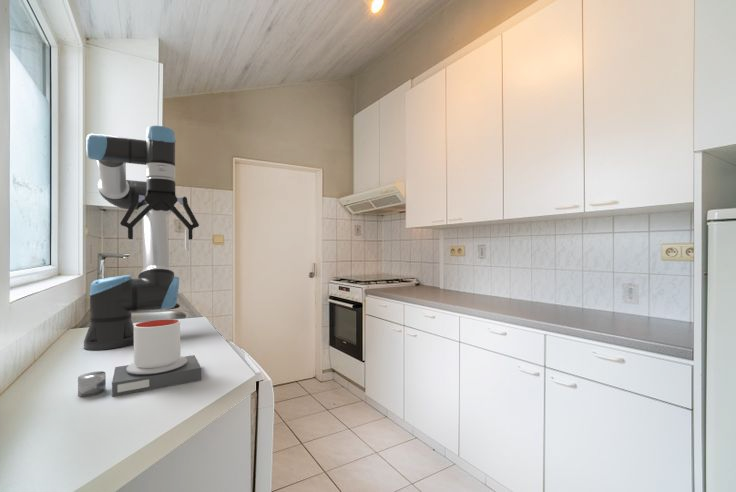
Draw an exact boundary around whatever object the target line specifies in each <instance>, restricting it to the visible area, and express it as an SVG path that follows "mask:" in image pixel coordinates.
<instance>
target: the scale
mask: <svg viewBox="0 0 736 492" xmlns="http://www.w3.org/2000/svg"><path fill="white" fill-rule="evenodd" d="M197 381H202V367H201V365H200V363H199V361H198V359H197V358H196V356H195V355H187V356H182V355H180V358H179V359H178V360H177V361H176V362H175V363H173V364H170V365H167V366H163V367H157V368H140V367H138V366H136V365H135V363H134V362H132V363H130V364H126V365H119V366H115V368H114V372H113V377H112V380H111V397H117V396H123V395H128V394H132V393H139V392H143V391H144V390H145V391H150V390H155V388H156V389H159V388H160V387H161V388H166V387H170V386H171V385H172V386H176V385H181V384H187V383H192V382H197ZM145 391H144V392H145Z"/></svg>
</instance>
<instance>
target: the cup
mask: <svg viewBox="0 0 736 492" xmlns="http://www.w3.org/2000/svg"><path fill="white" fill-rule="evenodd" d="M133 325H134V344H133V363H135V365H136V366H138V367H140V368H157V367H163V366H167V365H170V364H173V363H175V362H176V361H177V360H178V359H179V358H180V356H181V320H179V319H175V318H174V319H171V318H167V319H166V318H165V319H154V320H147V321H142V322H138V323H136V324H133Z"/></svg>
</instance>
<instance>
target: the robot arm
mask: <svg viewBox="0 0 736 492" xmlns="http://www.w3.org/2000/svg"><path fill="white" fill-rule="evenodd" d="M145 139H146V140H143V139H136V138H128V137H122V136H121V137H120V136H114V135H113V136H112V135H108V134H107V135H106V134H96V133H89V134H88V135H87V136H86V140H85V141H86V145H85V147H86V157H88V159H90V160H94V161H96V162H97V166H98V167H97V168H98V173H99V180H98V183H97V188H98V193H99V194H100V196H101V198H103V199H104V200H105V201H106V202H108V203H109V204H110V205H113V206H115V207H118V208H120V209H123V210H127V211H126V213H124V216H123V218H122V220H121V221H120V223H119V224H120V225H121V226H122V227H126V228H127V238H128V239H129V240H132V252H135V251H137V228H135V226H136V225H137V224H138V222H140V221H141V228H142V229H141V230H142V231H141V234H142V235H141V236H142V270H141V272H139V273H138V277H137V278H133V277H132V276H131V274H126V275H118V276H111V277H105V278H100V279H95V280H93V281H92V282H91V283H90V289H89V291H90V292H89V296H90V298H89V304H90V305H89V307H90V308H89V313H90V314H89V318H90V319H89V326H88V329H87V332H86V334H85V336H84V340H83V349H84V350H87V351H101V350H111V349H116V348H117V349H118V348H122V347H126V346H131V345H134V325H135V324H134V323H133V320H132V313H135V312H145V311H147V312H148V311H160V310H161V311H162V310H167V309H173V308H175V306H176V304H177V301H178V295H179V287H180V285H179V284H180V278H179V277H178V276H175V272H174V271H173V270H172V269H170V256H169V252H170V251H169V237H168V235H169V234H168V222H167V221H168V217H170V215H171V212H172V214H174V215H175V216H176V218H178V219H179V221H180V222H182V224H183V225H184V226H185V227H186V228H185V229H184V251H190V250H189V249H190V247H189V246H190V243H189V242H190V241H189V240H193V231H194V229H195V228H198V227H199V226H200V224H199V222H198V220H197V219H196V217H195V215H194V213H193V211H192V209H191V207H190V206H189V204H188V198H187V196H183V197H177V195H176V181H174V180H176V142H177V141H176V133H175V131H174V130H173V129H172V128H170V127H168V126H167V127H166V126H162V125H150V126H147V128H146V133H145ZM126 164H132V165H133V164H135V165H145V166H146V167H145V168H146V171H145V172H146V178H147V179H146V181H142V180H141V181H140V180H130V179H127V169H126V168H127V166H126ZM176 203H179V205H182V207H183V208H184V210H185V212H186V215H187V217H188V218H189V219H190V221H191V223H190V222H189V221H188V219H186V218H185V217H184V215H183V214H182V213H181V212H180V211H179V210H178V208H177V207H176V206H175V205H176ZM134 211H136V212H137V216H136V217H134V218H133V220H131V222H128V221H129V219H130V218H131V216H132V214H133V213H134Z"/></svg>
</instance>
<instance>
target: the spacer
mask: <svg viewBox="0 0 736 492" xmlns="http://www.w3.org/2000/svg"><path fill="white" fill-rule="evenodd" d="M106 374H107V373H106V371H92V372H87V373H84V374H80V375H79V376H78V377H77V397H79V398H87V397H89V398H90V397H94V396H97V395H98V396H99V395H100V394H103V393H105V392H106V389H107V388H106V387H107V386H106V382H107V379H106V378H107V376H106Z"/></svg>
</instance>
